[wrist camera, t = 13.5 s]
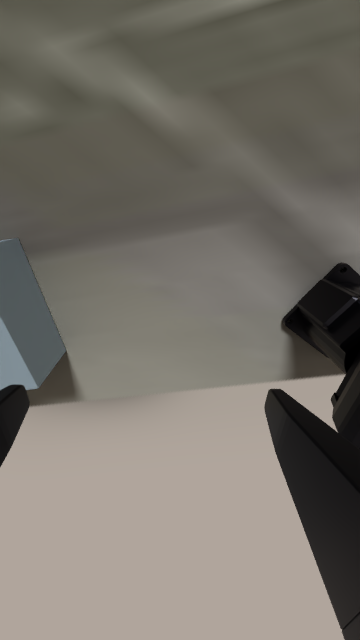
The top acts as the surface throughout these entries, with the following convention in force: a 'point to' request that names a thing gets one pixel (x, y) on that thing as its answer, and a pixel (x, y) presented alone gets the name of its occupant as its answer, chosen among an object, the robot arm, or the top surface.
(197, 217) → the top surface
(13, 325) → the hole block
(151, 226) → the top surface
